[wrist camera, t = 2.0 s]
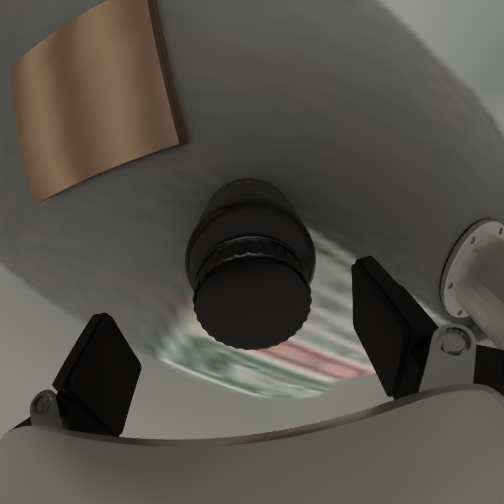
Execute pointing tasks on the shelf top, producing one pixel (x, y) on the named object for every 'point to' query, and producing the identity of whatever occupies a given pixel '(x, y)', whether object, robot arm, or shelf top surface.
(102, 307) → the shelf top surface
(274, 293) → the supplement bottle
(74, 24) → the wavy wooden tray
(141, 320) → the shelf top surface
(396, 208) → the shelf top surface
